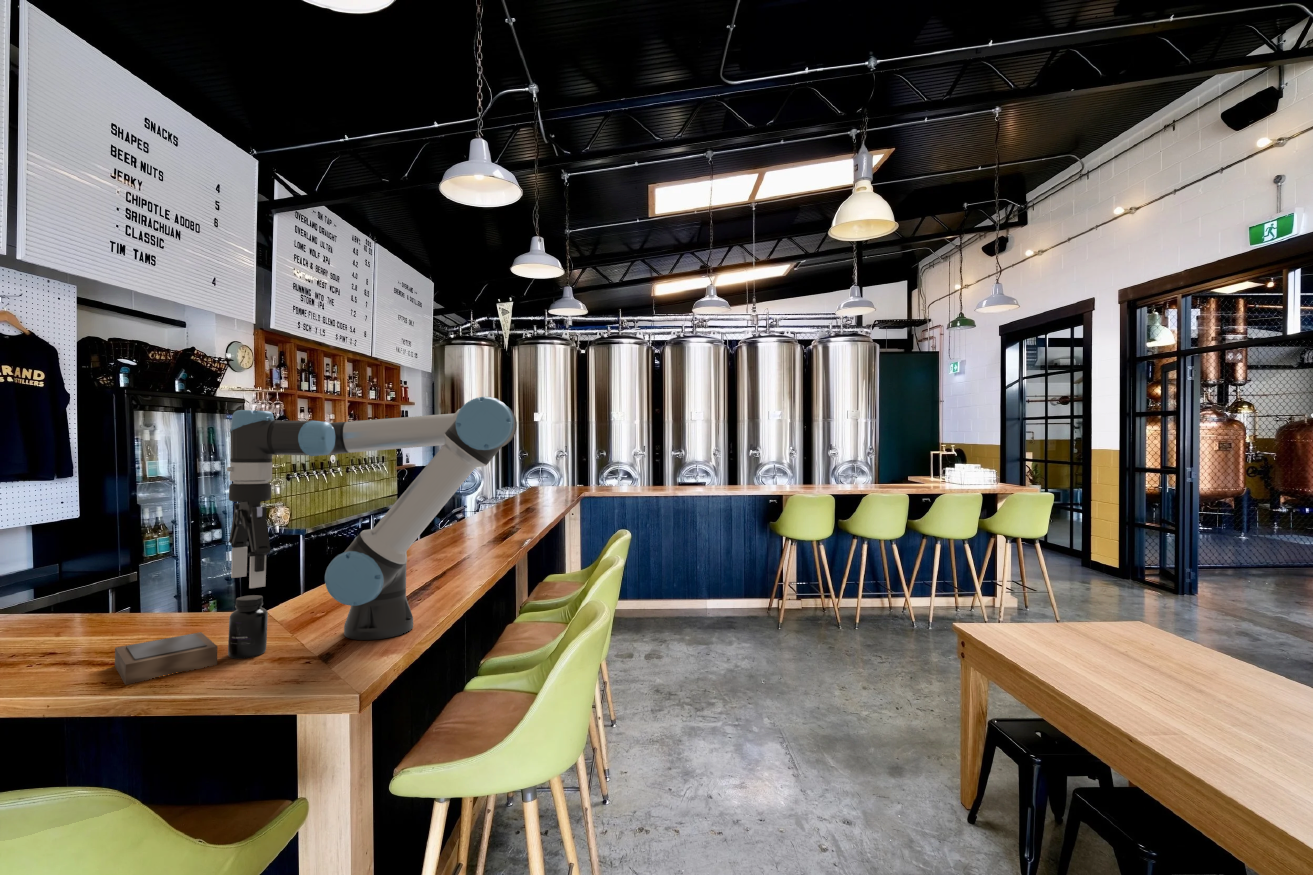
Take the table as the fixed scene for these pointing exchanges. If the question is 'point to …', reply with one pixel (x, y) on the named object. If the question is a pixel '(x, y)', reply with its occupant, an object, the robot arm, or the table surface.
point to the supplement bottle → (248, 628)
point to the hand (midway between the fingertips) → (247, 582)
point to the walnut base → (164, 657)
